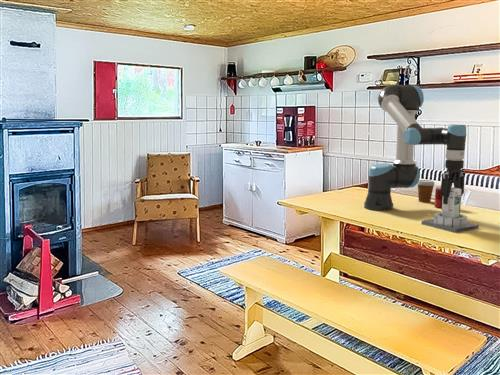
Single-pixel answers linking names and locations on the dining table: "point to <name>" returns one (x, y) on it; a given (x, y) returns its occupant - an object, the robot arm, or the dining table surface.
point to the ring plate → (449, 228)
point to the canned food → (438, 198)
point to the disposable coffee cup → (425, 190)
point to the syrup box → (453, 204)
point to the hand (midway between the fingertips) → (450, 210)
